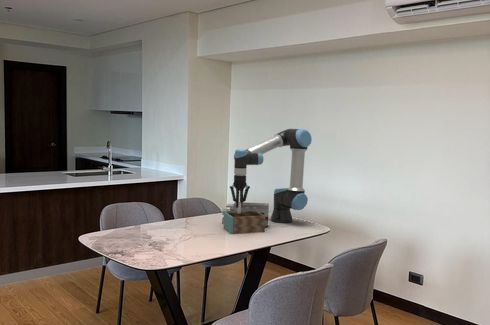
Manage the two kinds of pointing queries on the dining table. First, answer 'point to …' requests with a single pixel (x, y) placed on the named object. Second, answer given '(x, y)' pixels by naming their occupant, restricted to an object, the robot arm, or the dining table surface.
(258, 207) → the grey rectangular block
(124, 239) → the dining table surface
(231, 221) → the tailgate
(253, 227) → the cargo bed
